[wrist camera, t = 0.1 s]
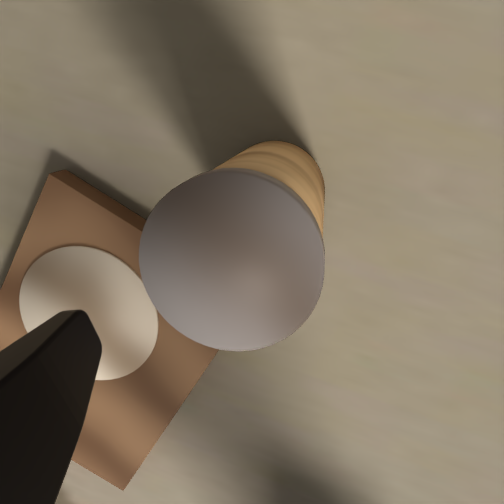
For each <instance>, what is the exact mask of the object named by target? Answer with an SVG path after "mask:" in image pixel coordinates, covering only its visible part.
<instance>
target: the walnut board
mask: <svg viewBox="0 0 504 504" xmlns="http://www.w3.org/2000/svg"><path fill="white" fill-rule="evenodd" d="M146 221H147V220H145V219H144V218H142V217H141V216H139V215H137V214H136V213H134V212H133V211H131V210H129V209H128V208H126V207H125V206H123V205H121V204H120V203H118V202H117V201H115V200H113V199H112V198H110V197H109V196H107V195H106V194H104V193H102V192H101V191H99V190H98V189H96V188H94V187H93V186H91V185H90V184H88V183H86V182H85V181H83V180H82V179H80V178H78V177H77V176H75V175H74V174H72V173H70V172H69V171H67V170H66V169H65V170H61V171H57V172H54V173H50V174H49V175H48V178H47V180H46V182H45V185H44V187H43V190H42V192H41V194H40V197H39V199H38V201H37V204H36V206H35V209H34V211H33V213H32V216H31V218H30V221H29V223H28V225H27V228H26V230H25V233H24V235H23V237H22V240H21V242H20V245H19V247H18V249H17V252H16V254H15V257H14V259H13V261H12V264H11V266H10V268H9V271H8V273H7V276H6V278H5V280H4V283H3V285H2V288H1V290H0V351H1V350H3V349H4V348H6V347H7V346H9V345H10V344H12V343H13V342H15V341H16V340H18V339H19V338H21V337H22V336H24V335H26V334H27V333H29V332H30V331H32V330H33V329H35V328H36V327H38V326H39V325H41V324H42V323H44V322H45V321H47V320H48V319H50V318H51V317H53V316H54V315H56V314H57V313H59V312H61V311H65V310H77V309H81V310H84V311H85V312H86V313H87V314H88V316H89V318H90V320H91V322H92V324H93V326H94V328H95V330H96V332H97V334H98V336H99V338H100V340H101V344H102V355H101V359H100V363H99V367H98V371H97V375H96V379H95V383H94V386H93V390H92V394H91V398H90V402H89V406H88V410H87V413H86V417H85V421H84V424H83V427H82V431H81V434H80V436H79V439H78V442H77V445H76V448H75V450H74V453H73V456H72V458H71V460H73V461H74V462H76V463H78V464H79V465H81V466H83V467H84V468H86V469H88V470H89V471H91V472H93V473H94V474H96V475H98V476H99V477H101V478H103V479H104V480H106V481H108V482H109V483H111V484H113V485H114V486H116V487H118V488H119V489H121V490H124V489H125V487H126V486H127V485H128V483H129V482H130V480H131V479H132V477H133V476H134V474H135V473H136V471H137V470H138V468H139V467H140V465H141V464H142V462H143V461H144V459H145V458H146V457H147V455H148V454H149V452H150V451H151V449H152V448H153V446H154V445H155V443H156V442H157V440H158V439H159V437H160V436H161V434H162V433H163V431H164V430H165V429H166V427H167V426H168V424H169V423H170V421H171V420H172V418H173V417H174V415H175V414H176V412H177V411H178V409H179V408H180V406H181V405H182V403H183V402H184V401H185V399H186V398H187V396H188V395H189V393H190V392H191V390H192V389H193V387H194V386H195V384H196V383H197V381H198V380H199V378H200V377H201V375H202V374H203V373H204V371H205V370H206V368H207V367H208V365H209V364H210V362H211V361H212V359H213V358H214V356H215V355H216V353H217V352H218V350H219V349H215V348H212V347H208V346H205V345H203V344H200V343H198V342H195V341H194V340H192V339H190V338H188V337H186V336H185V335H183V334H182V333H180V332H179V331H177V330H176V329H175V328H174V327H173V326H171V325H170V324H169V323H168V322H167V321H166V320H165V319H164V318H163V317H162V315H161V314H160V313H159V312H158V310H157V309H156V308H155V306H154V305H153V303H152V301H151V300H150V298H149V296H148V294H147V292H146V289H145V287H144V284H143V281H142V277H141V273H140V266H139V245H140V238H141V235H142V231H143V228H144V225H145V223H146Z"/></svg>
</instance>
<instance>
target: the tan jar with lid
mask: <svg viewBox="0 0 504 504" xmlns="http://www.w3.org/2000/svg"><path fill="white" fill-rule="evenodd" d="M324 198H325V186H324V180H323V176H322V173H321V171H320V169H319V167H318V165H317V164H316V162H315V161H314V159H313V158H312V157H311V156H310V155H309V154H308V153H307V152H305V151H304V150H303V149H301V148H299V147H298V146H296V145H293V144H291V143H288V142H283V141H266V142H261V143H258V144H255V145H253V146H251V147H249V148H248V149H246V150H244V151H243V152H241V153H239V154H238V155H236V156H234V157H233V158H231V159H229V160H228V161H226V162H224V163H223V164H221V165H219V166H218V167H216V168H214V169H213V170H210V171H207V172H204V173H201V174H199V175H197V176H195V177H193V178H191V179H189V180H187V181H185V182H184V183H182V184H180V185H179V186H177V187H176V188H174V189H172V190H171V191H170V192H169V193H167V194H166V195H165V196H164V197H163V198H162V199H161V200H160V201H159V202H158V204H157V205H156V206H155V207H154V209H153V210H152V212H151V213H150V215H149V217H148V219H147V221H146V223H145V225H144V228H143V231H142V235H141V238H140V245H139V266H140V273H141V277H142V281H143V284H144V287H145V289H146V292H147V294H148V296H149V298H150V300H151V301H152V303H153V305H154V306H155V308H156V309H157V310H158V312H159V313H160V314H161V315H162V317H163V318H164V319H165V320H166V321H167V322H168V323H169V324H170V325H171V326H173V327H174V328H175V329H176V330H177V331H179V332H180V333H182V334H183V335H185V336H186V337H188V338H190V339H192V340H194V341H195V342H198V343H200V344H203V345H205V346H208V347H212V348H215V349H220V350H227V351H250V350H256V349H261V348H264V347H267V346H270V345H273V344H275V343H277V342H279V341H282V340H283V339H285V338H287V337H288V336H290V335H291V334H293V333H294V332H295V331H296V330H297V329H298V328H299V327H301V326H302V324H303V323H304V322H305V321H306V320H307V319H308V317H309V316H310V314H311V313H312V311H313V310H314V308H315V306H316V304H317V301H318V299H319V297H320V293H321V290H322V287H323V280H324V265H325V250H324V243H323V238H322V235H323V217H324Z"/></svg>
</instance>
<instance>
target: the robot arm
mask: <svg viewBox="0 0 504 504" xmlns="http://www.w3.org/2000/svg"><path fill="white" fill-rule="evenodd" d="M101 355H102V344H101V340H100V338H99V336H98V334H97V332H96V330H95V328H94V326H93V324H92V322H91V320H90V318H89V316H88V314H87V313H86V312H85V311H84V310H81V309H77V310H65V311H61V312H59V313H57V314H56V315H54V316H53V317H51V318H50V319H48V320H47V321H45V322H44V323H42V324H41V325H39V326H38V327H36V328H35V329H33V330H32V331H30V332H29V333H27V334H26V335H24V336H22V337H21V338H19V339H18V340H16V341H15V342H13V343H12V344H10V345H9V346H7V347H6V348H4V349H3V350H1V351H0V504H55V502H56V499H57V496H58V494H59V491H60V488H61V485H62V483H63V480H64V477H65V475H66V472H67V469H68V467H69V464H70V461H71V458H72V456H73V453H74V450H75V448H76V445H77V442H78V439H79V436H80V434H81V431H82V427H83V424H84V421H85V417H86V413H87V410H88V406H89V402H90V398H91V394H92V390H93V386H94V383H95V379H96V375H97V371H98V367H99V363H100V359H101Z"/></svg>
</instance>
